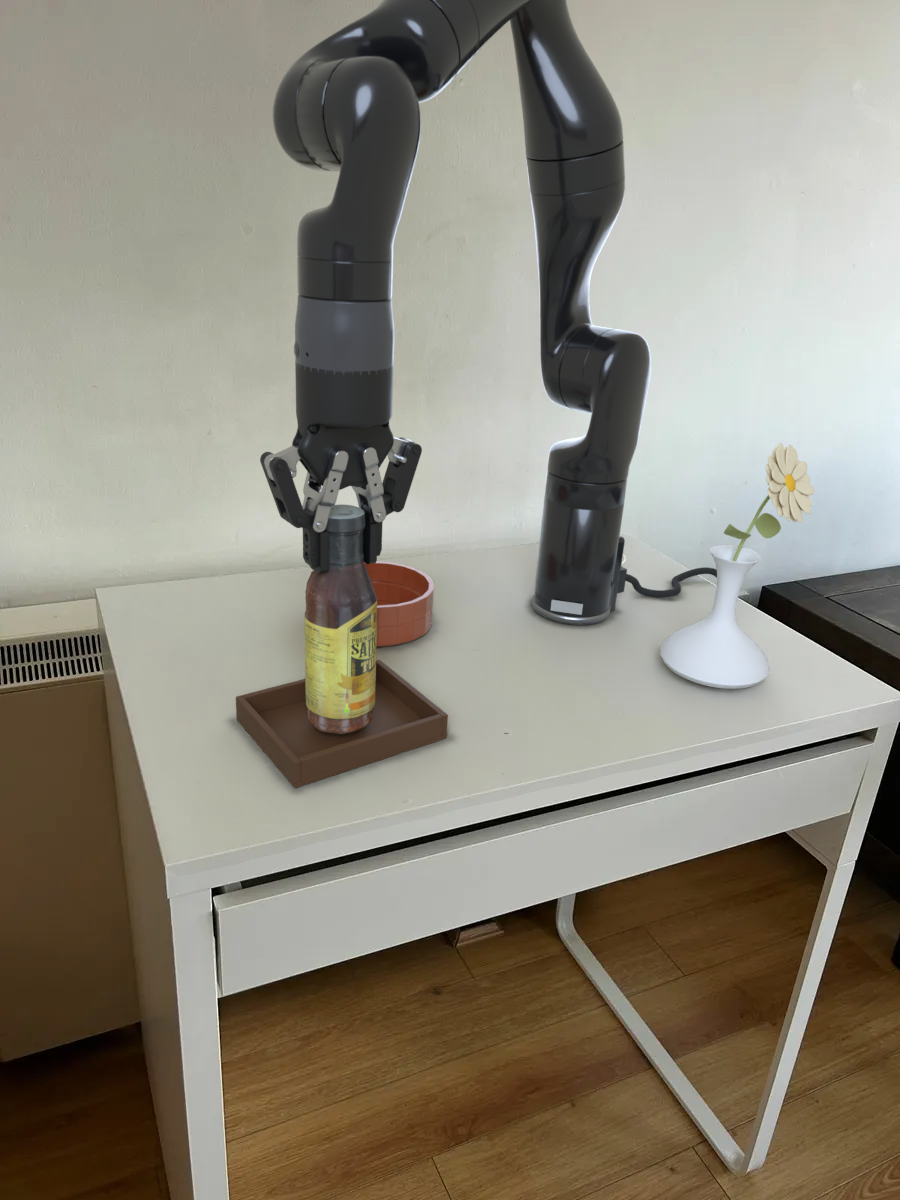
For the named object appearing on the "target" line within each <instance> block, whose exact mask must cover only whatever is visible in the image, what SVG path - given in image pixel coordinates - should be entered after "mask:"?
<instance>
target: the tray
mask: <svg viewBox="0 0 900 1200" xmlns="http://www.w3.org/2000/svg"><path fill="white" fill-rule="evenodd" d="M307 710H308V708H307V705H306V687H305V678H302V679H299V680H295V681H291V682H287V683H283V684H280V685H276V686H272V687H267V688H264V689H260V690H256V691H252V692H248V693H244V694H242V695H241V694H240V695H236V696H235V711H236V712H235V713H236V721H237V722H238V723H239V724H240V726H241V727H242V729H244V731H245V732H246V733H247V734H248V735H249V737H250V738H252V740H253V741H254V742H255V743H256V744H257V746H258V747H259V748H260V749H261V750H262V752H263V753H264V754H265V755H266V756H267V757H268V759H269V760H270V761H271V762H272V763H273V764H274V766H275V767H276V768H277V769H278V771H279V772H280V773H281V774H282V775H283V776H284V777H285V779H286V780H287V781H288V783H290V785H291V786H292V787H293V788H294V789H298V788H300V787H303V786H306V785H310V784H312V783H316V782H318V781H322V780H324V779H327V778H330V777H334V776H337V775H340V774H343V773H347V772H349V771H351V770H355V769H358V768H362V767H364V766H367V765H369V764H373V763H376V762H379V761H382V760H385V759H388V758H392V757H394V756H397V755H401V754H403V753H406V752H409V751H413V750H415V749H418V748H422V747H424V746H427V745H430V744H433V743H436V742H439V741H443V740H446V739H447V737H448V722H449V714H447V713H446V712H445V711H444V710H443V709H442V708H440V707H439V706H437V705H436V703H434V702H433V701H432V700H430V699H429V698H428V697H427V696H426V695H424V694H423V693H421V691H419V690H418V689H417V688H416V687H414V686H413V684H411V683H410V682H408V681H407V680H406V679H404V677H402V676H401V675H400V674H398V673H397V672H396V671H394V670H393V669H392V668H391V667H390V666H388V664H386V663H385V662H383V661H382V660H381V659H376V683H375V705H374V708H373V716H372V720H371V722H370V723H369V724H368V725H367V726H365V727H364V728H362V729H360V730H358V731H355V732H351V733H347V734H333V733H326V732H323V731H319V730H318V729H316V728H314V726H312V725H311V723H310V721H309V720H308V712H307Z"/></svg>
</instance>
